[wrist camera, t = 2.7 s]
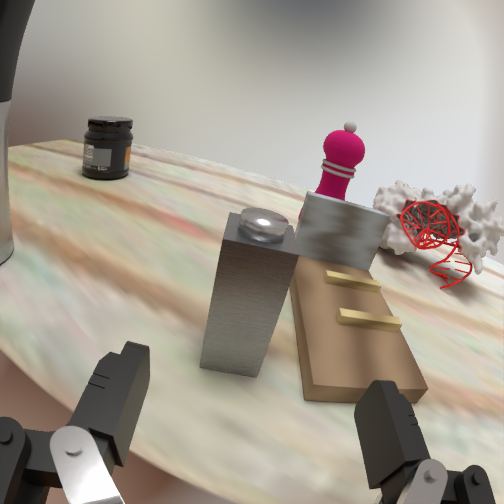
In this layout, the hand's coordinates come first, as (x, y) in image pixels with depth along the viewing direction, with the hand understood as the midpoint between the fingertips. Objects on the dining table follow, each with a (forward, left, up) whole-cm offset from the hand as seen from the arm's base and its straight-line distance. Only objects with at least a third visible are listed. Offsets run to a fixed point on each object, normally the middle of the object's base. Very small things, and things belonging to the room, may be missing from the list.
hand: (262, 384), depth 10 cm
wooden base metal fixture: (+11, +18, -10) cm, 24 cm away
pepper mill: (+11, +36, -10) cm, 39 cm away
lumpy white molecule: (+33, +37, -10) cm, 51 cm away
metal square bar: (0, +11, -10) cm, 15 cm away
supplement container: (-31, +52, -10) cm, 62 cm away
